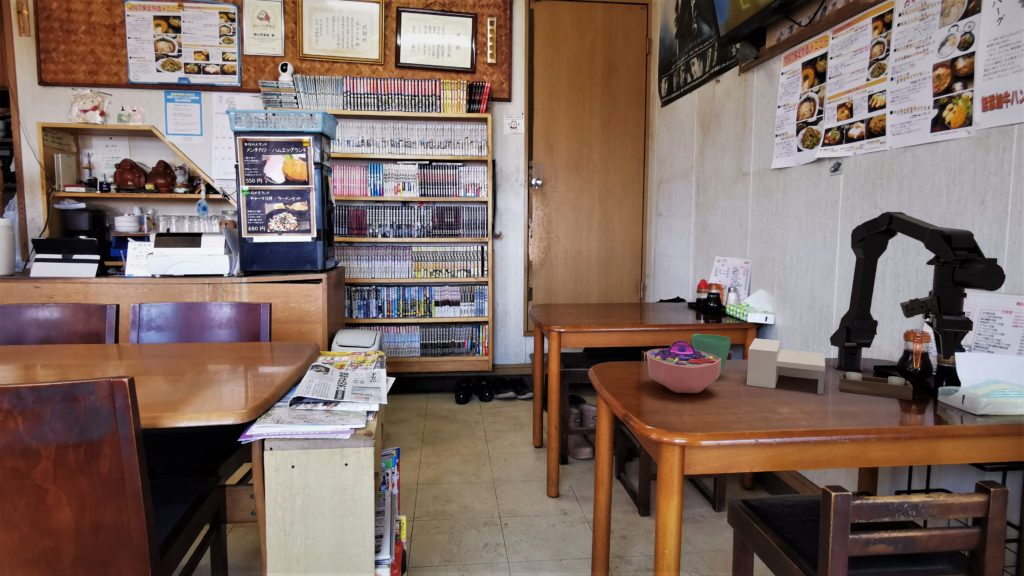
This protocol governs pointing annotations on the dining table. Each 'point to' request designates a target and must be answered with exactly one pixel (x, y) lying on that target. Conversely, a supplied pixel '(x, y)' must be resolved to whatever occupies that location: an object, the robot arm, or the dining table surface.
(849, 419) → the dining table surface
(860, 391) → the tray
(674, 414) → the dining table surface
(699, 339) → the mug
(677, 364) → the cell model
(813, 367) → the counter
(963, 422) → the dining table surface
